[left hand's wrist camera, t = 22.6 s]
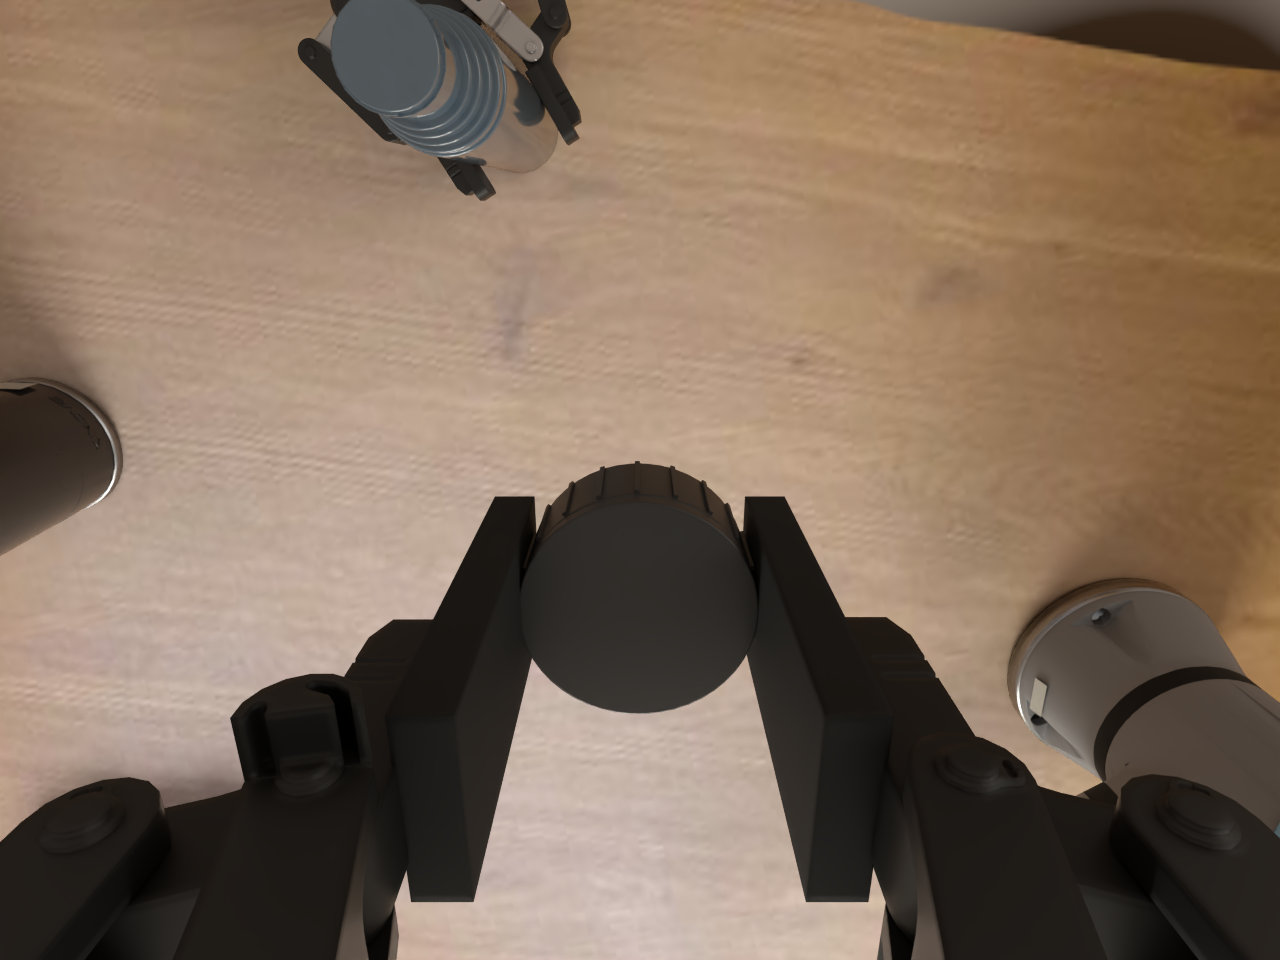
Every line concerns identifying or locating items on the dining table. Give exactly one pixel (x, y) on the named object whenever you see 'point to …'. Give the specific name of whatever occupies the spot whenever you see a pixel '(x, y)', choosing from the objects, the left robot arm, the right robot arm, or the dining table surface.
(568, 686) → the cap
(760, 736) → the dining table surface
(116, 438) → the right robot arm
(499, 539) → the left robot arm
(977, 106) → the dining table surface
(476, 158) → the bottle
